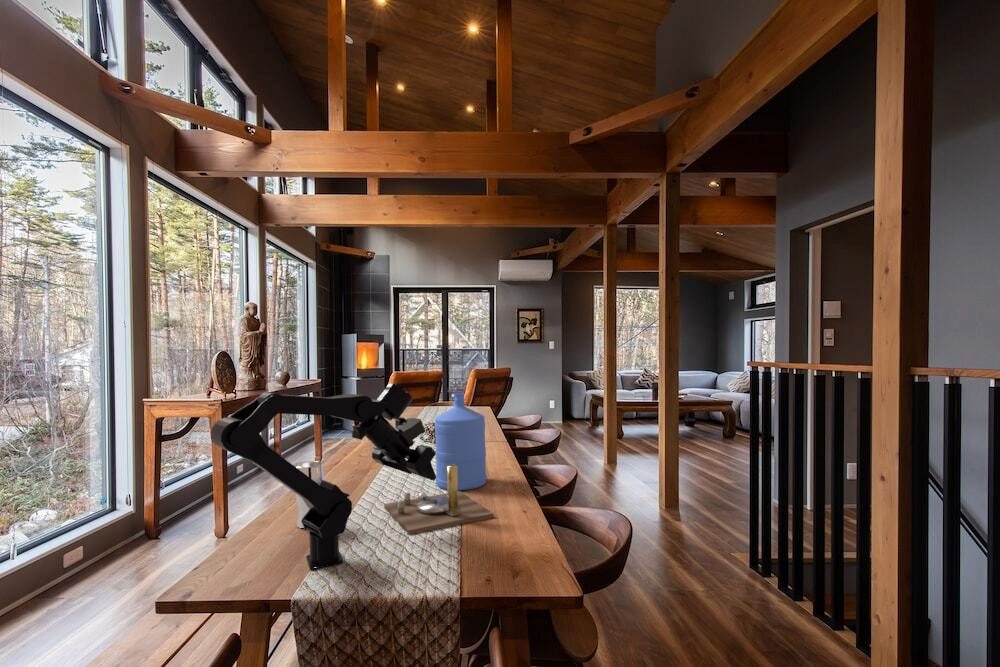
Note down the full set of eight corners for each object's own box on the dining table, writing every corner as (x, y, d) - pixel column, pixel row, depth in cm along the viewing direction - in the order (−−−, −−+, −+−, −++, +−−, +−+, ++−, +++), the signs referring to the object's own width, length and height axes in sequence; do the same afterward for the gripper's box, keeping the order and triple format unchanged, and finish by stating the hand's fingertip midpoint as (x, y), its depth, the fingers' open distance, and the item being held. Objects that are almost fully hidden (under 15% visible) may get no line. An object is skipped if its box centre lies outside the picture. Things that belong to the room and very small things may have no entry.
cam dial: (404, 505, 137) (403, 460, 137) (435, 496, 144) (433, 453, 144) (440, 520, 126) (439, 470, 126) (472, 510, 132) (471, 463, 132)
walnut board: (493, 517, 130) (493, 501, 130) (408, 534, 120) (407, 517, 120) (459, 494, 150) (459, 480, 150) (384, 507, 140) (383, 492, 140)
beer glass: (315, 530, 124) (313, 468, 124) (288, 529, 126) (287, 467, 126) (330, 520, 131) (328, 461, 131) (305, 519, 133) (303, 460, 133)
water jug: (485, 490, 153) (483, 395, 153) (432, 492, 153) (430, 397, 153) (487, 476, 169) (485, 390, 169) (439, 477, 169) (437, 391, 169)
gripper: (428, 411, 115) (466, 453, 123) (382, 404, 128) (419, 443, 136) (398, 452, 109) (440, 494, 117) (353, 441, 123) (393, 479, 130)
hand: (423, 475), depth 125 cm, fingers open, 9 cm apart
